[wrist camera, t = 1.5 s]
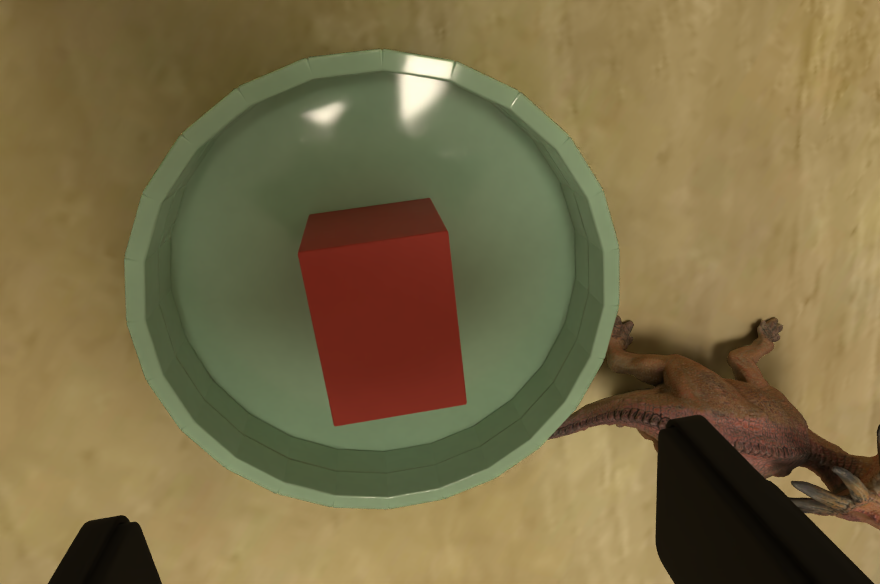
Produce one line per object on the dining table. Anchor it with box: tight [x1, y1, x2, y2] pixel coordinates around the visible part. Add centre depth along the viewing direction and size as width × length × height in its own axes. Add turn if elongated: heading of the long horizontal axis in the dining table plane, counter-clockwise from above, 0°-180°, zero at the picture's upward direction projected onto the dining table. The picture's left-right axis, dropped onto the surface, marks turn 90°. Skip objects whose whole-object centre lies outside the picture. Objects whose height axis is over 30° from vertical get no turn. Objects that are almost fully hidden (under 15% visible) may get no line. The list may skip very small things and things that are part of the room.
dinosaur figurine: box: [548, 316, 880, 530], centre depth 22 cm, size 14×6×9 cm, turn 82°
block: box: [298, 198, 467, 426], centre depth 20 cm, size 6×4×4 cm
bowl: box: [124, 49, 619, 509], centre depth 22 cm, size 16×16×4 cm
